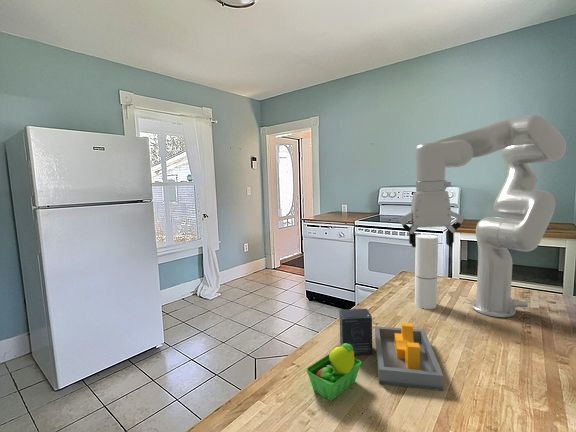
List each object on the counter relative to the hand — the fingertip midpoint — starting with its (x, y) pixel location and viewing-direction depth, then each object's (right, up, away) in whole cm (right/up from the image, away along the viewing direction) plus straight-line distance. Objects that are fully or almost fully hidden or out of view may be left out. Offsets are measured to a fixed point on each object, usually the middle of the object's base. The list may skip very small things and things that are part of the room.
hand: (431, 245), depth 90 cm
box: (-23, -28, -6) cm, 37 cm away
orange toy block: (-12, -27, -12) cm, 32 cm away
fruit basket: (-31, -30, -20) cm, 48 cm away
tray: (-12, -28, -12) cm, 33 cm away
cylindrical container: (+7, -23, +20) cm, 32 cm away
